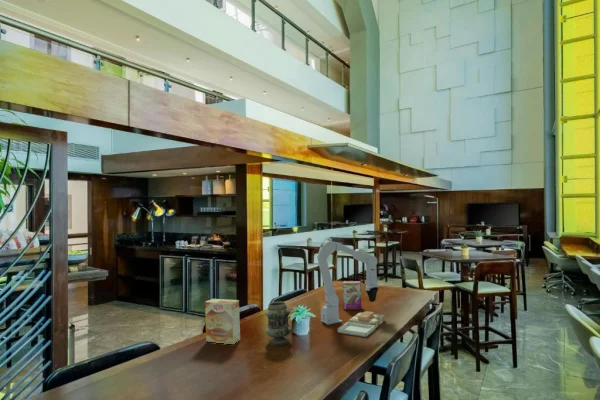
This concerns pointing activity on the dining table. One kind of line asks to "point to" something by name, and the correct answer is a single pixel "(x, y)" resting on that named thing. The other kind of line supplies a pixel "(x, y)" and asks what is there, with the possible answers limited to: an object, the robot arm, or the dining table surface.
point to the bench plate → (374, 320)
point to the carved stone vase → (278, 323)
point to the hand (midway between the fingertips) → (372, 301)
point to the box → (356, 329)
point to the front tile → (363, 317)
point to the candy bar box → (352, 295)
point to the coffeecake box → (222, 321)
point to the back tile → (369, 313)
